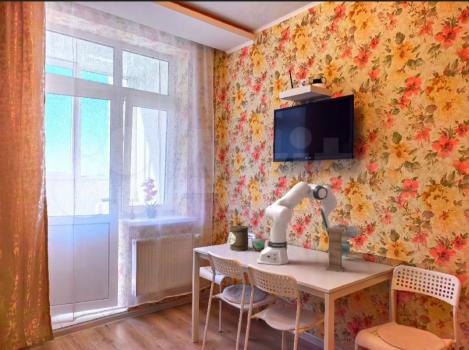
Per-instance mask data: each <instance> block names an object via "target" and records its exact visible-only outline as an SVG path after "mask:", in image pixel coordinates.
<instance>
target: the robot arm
mask: <svg viewBox="0 0 469 350" xmlns="http://www.w3.org/2000/svg"><path fill="white" fill-rule="evenodd" d="M305 198H307V199H310V200H316V201H320V202H321V208H320V215H321V219H322V222H323V225H324V229H325V234H326V236H327V237H328V238H329V231H326V228H328V227H334V228H340V224H338V225H331V224H330V221H329V216H330V214H331V213H332V212H333V211H334V210H335V209H336V208H337V205H338V199H337V197H336V195H335V193H334V192H333V190H332V189H331V188H330V186H329V185H320V184H316V183H315V184H314V183H307V182H305V181H299V182H298V183H296V184H295V185H294V186H292V188H291V189H289V191H288V192H287V193H285V194H284V196H282V197H281V198H279V199H278V200H276V201H275V202H274V203H272V204H270V205H268V206H267V207H266V209H265V211H264V213H265V216H266V217H267V218H268V219H269V220H271V221H273V223H272V224H273V225H272V227H271V228H270V231H269V233H270V235H269V237H270V238H269V239H270V240H266V242H267V246H265V248H264V249H263V250H262V251H261V252H259V257H257V258H256V260H255V261H256V262H255V263H257V264H261V265H262V264H263V265H272V266H273V265H275V266H280V265H285V264H288V263H290V260H289V256H288V241H287V230H288V225H289V223H290V221H291V220H292V217H293V212H292V209H295V208H296V207H297V206H298V205H299V204H300V203H301V202H302V201H303V200H304V199H305ZM345 228H346V234H347V240H349V239H350V238H354V239H355V238H358V236H359V234H360V227H359V226H356V225H350V226H348V225H345Z"/></svg>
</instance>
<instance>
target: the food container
mask: <svg viewBox="0 0 469 350" xmlns="http://www.w3.org/2000/svg"><path fill="white" fill-rule="evenodd" d="M250 242H251V245H252V246H251V247H252V252H254V251H255V252H254V253H260V252H261V251H262V250H263V249H265V248H266V246H265V245H266V242H267V239H266V238H251V240H250Z"/></svg>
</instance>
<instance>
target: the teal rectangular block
mask: <svg viewBox="0 0 469 350" xmlns="http://www.w3.org/2000/svg"><path fill="white" fill-rule="evenodd" d="M345 225H346V224H341V225H340V228H345ZM350 246H351V244H350V243H349V242H347V234H346V228H345V231H343V232H342V256H348V255H349V254H350V252H351V249H350V248H351V247H350Z"/></svg>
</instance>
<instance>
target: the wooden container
mask: <svg viewBox="0 0 469 350" xmlns="http://www.w3.org/2000/svg"><path fill="white" fill-rule="evenodd" d="M229 237H230V238H229V244H230V245H229V249H230V251H234V250H236V251H235V252H245V251H248V250H249V226H247V225H242V223H241V221H237V223H236V225H232V226H230V227H229Z"/></svg>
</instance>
